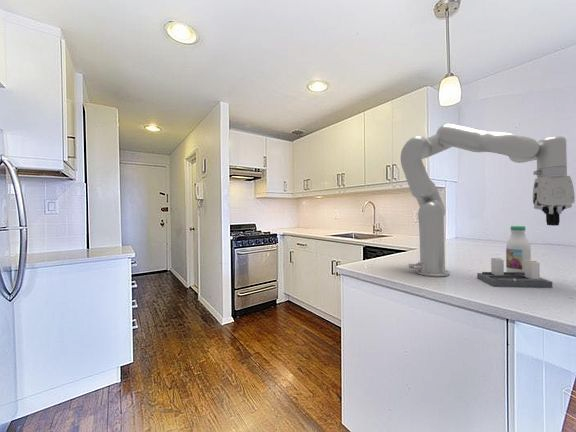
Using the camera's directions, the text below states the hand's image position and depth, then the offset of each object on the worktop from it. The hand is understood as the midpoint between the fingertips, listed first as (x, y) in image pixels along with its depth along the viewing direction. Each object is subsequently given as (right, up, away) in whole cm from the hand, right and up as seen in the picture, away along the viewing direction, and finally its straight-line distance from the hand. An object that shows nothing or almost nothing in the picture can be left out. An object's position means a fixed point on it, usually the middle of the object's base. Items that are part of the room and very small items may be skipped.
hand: (552, 225), depth 95 cm
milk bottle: (+1, -21, +16) cm, 26 cm away
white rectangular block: (-13, -19, +8) cm, 25 cm away
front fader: (-6, -19, +2) cm, 20 cm away
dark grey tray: (-10, -22, +5) cm, 24 cm away
